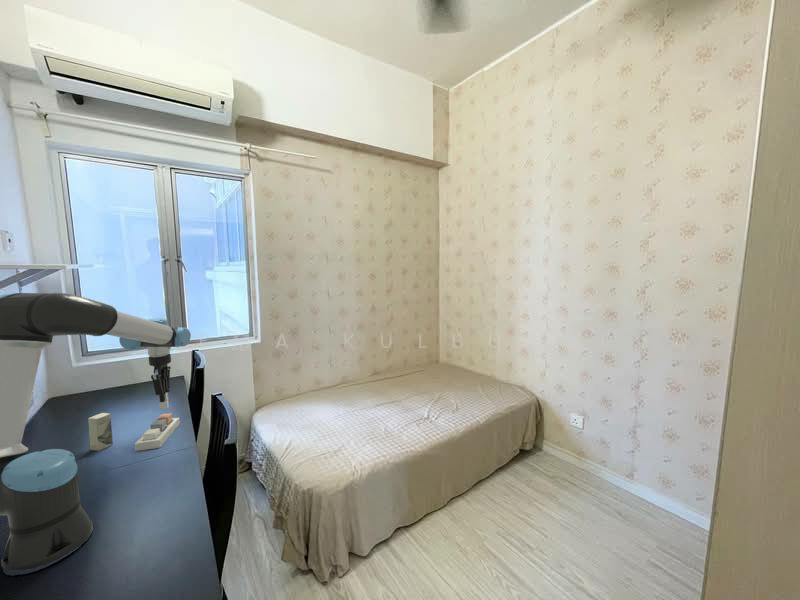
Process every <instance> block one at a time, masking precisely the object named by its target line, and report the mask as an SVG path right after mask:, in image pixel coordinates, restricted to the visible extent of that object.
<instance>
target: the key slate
mask: <svg viewBox="0 0 800 600" xmlns="http://www.w3.org/2000/svg"><path fill="white" fill-rule="evenodd" d="M166 427H167V425H166V419H164V420H157V419H156V420H154V421H153V422H152V423H151V424H150V428H151V429H157V428H160V431H163V430H164V429H165V428H166Z"/></svg>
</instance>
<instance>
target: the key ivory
mask: <svg viewBox="0 0 800 600" xmlns="http://www.w3.org/2000/svg"><path fill="white" fill-rule="evenodd" d="M142 436H143V438H144V441H145V440H152V439H157V438H158V437H159V436H160V428H157V429H150V428H149V429H147V430H146V431H144V433H143V434H142Z"/></svg>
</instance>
